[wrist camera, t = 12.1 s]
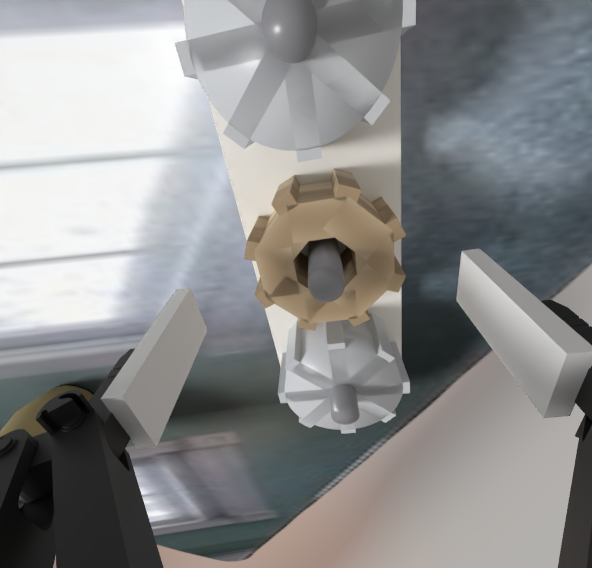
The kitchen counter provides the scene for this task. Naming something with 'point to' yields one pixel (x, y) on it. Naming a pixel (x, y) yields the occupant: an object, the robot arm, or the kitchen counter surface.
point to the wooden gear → (322, 225)
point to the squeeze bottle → (29, 412)
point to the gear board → (312, 168)
